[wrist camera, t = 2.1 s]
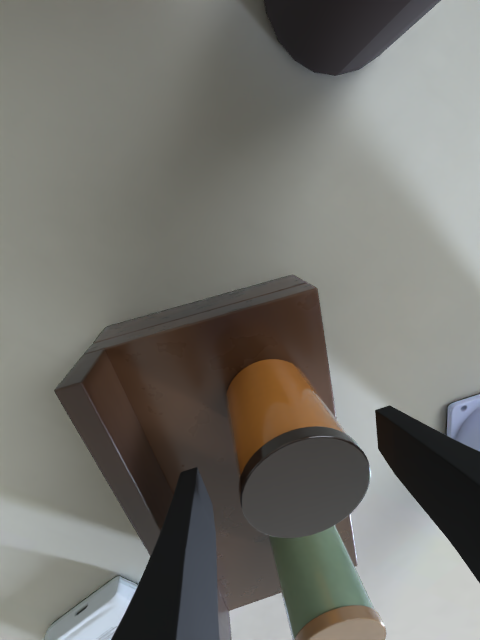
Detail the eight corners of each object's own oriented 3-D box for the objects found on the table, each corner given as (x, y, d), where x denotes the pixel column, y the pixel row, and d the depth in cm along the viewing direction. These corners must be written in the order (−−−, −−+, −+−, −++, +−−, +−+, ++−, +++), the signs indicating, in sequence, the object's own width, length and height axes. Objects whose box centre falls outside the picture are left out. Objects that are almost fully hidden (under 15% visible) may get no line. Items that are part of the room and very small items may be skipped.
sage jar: (329, 495, 18) (384, 606, 13) (337, 540, 20) (388, 654, 14) (260, 518, 18) (287, 641, 12) (274, 562, 19) (303, 686, 14)
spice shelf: (293, 273, 16) (349, 304, 10) (336, 519, 24) (381, 615, 18) (105, 326, 16) (52, 390, 10) (212, 561, 24) (219, 674, 18)
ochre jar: (302, 345, 14) (365, 418, 9) (315, 417, 16) (375, 514, 10) (213, 372, 14) (224, 463, 9) (235, 442, 15) (257, 554, 10)
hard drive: (157, 666, 27) (47, 626, 23) (221, 622, 27) (120, 572, 22) (154, 692, 26) (37, 655, 22) (222, 646, 25) (115, 598, 21)
